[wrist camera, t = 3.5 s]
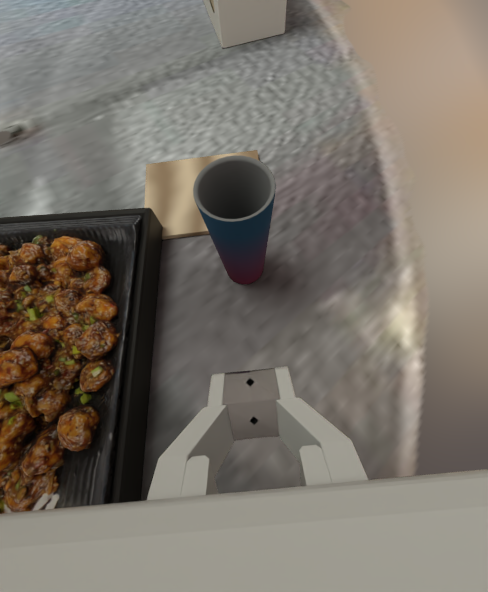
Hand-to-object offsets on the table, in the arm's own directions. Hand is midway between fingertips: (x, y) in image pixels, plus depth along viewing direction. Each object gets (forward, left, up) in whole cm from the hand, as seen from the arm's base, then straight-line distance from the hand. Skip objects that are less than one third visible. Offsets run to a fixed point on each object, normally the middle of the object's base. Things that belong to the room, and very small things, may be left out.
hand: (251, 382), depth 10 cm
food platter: (-25, +1, -21) cm, 32 cm away
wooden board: (-5, +28, -21) cm, 36 cm away
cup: (0, +15, -21) cm, 26 cm away
